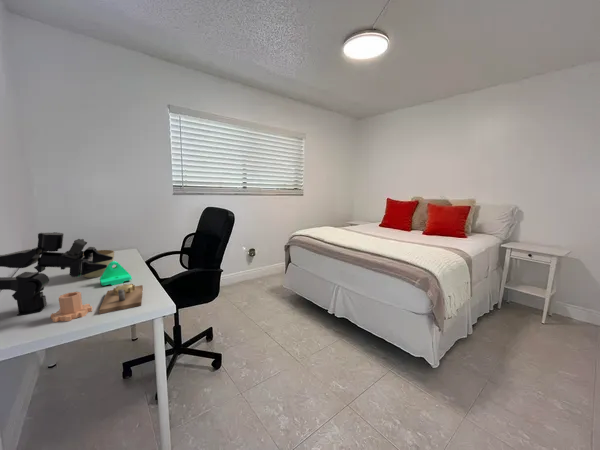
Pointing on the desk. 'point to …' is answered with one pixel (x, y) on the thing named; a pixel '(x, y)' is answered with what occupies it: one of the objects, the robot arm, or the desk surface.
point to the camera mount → (114, 275)
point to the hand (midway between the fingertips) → (109, 262)
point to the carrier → (122, 298)
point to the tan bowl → (100, 272)
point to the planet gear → (70, 307)
